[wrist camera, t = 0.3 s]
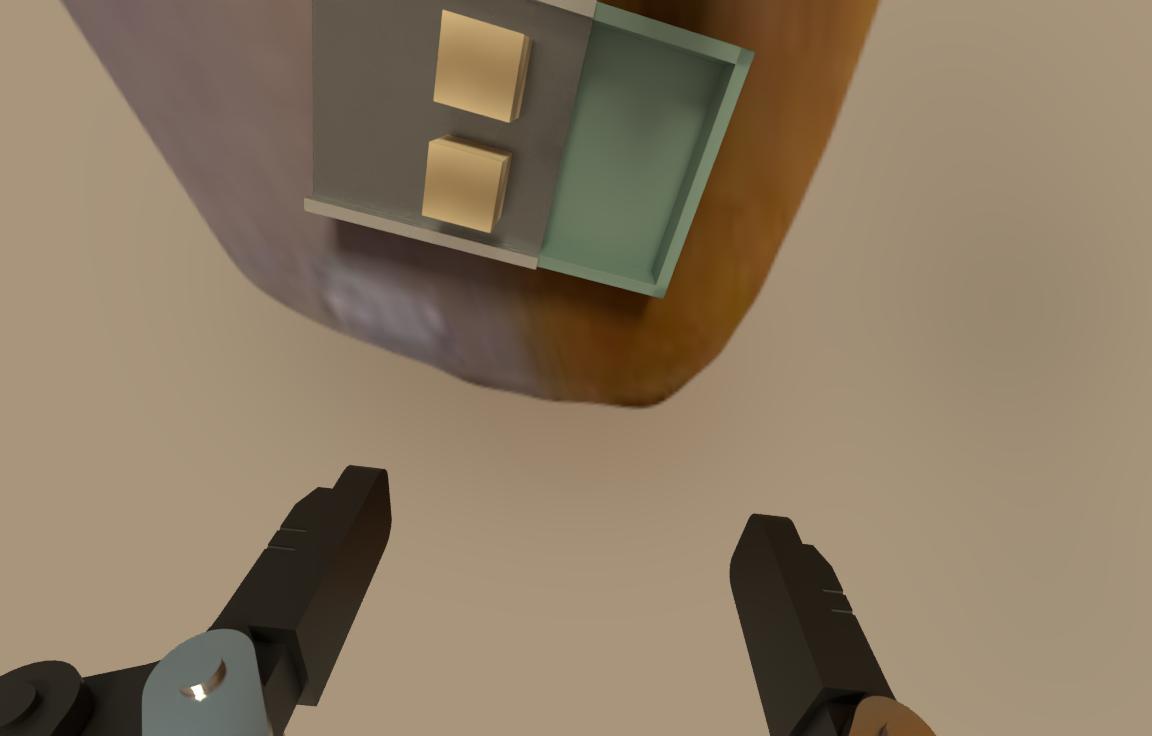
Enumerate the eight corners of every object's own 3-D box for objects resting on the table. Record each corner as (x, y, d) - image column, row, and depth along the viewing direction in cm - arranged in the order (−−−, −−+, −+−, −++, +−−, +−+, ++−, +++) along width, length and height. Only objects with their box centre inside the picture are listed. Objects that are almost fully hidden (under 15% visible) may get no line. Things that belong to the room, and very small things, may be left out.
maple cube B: (447, 134, 30) (429, 141, 27) (512, 152, 31) (502, 162, 27) (439, 200, 32) (422, 215, 29) (500, 216, 33) (490, 233, 29)
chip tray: (596, 9, 29) (596, 1, 26) (738, 54, 30) (755, 51, 27) (541, 250, 37) (536, 266, 34) (657, 281, 38) (663, 298, 35)
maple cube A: (461, 18, 27) (442, 9, 24) (532, 39, 28) (524, 34, 24) (451, 98, 29) (433, 101, 26) (518, 117, 30) (509, 122, 26)
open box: (337, -73, 28) (299, -95, 24) (596, 9, 29) (597, -1, 26) (334, 196, 35) (304, 210, 32) (541, 250, 37) (535, 269, 33)
